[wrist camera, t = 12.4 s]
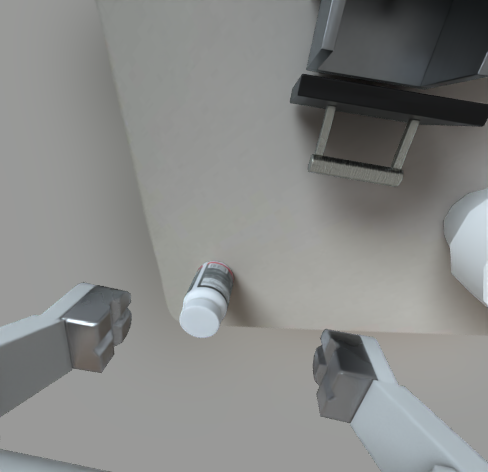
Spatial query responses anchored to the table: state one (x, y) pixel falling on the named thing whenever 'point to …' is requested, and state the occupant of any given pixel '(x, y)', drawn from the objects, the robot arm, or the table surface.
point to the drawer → (393, 71)
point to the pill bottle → (207, 300)
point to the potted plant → (469, 242)
